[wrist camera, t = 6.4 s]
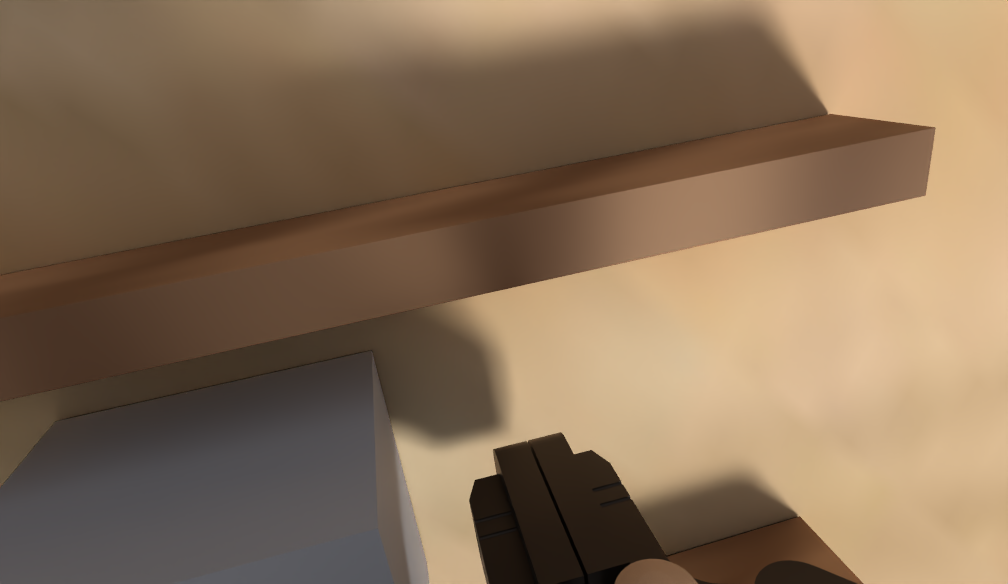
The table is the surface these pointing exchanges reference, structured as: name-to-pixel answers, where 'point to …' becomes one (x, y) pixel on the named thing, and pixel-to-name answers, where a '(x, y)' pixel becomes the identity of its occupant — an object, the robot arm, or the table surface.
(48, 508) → the block
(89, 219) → the table surface
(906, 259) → the table surface
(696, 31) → the table surface
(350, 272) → the trap lane
